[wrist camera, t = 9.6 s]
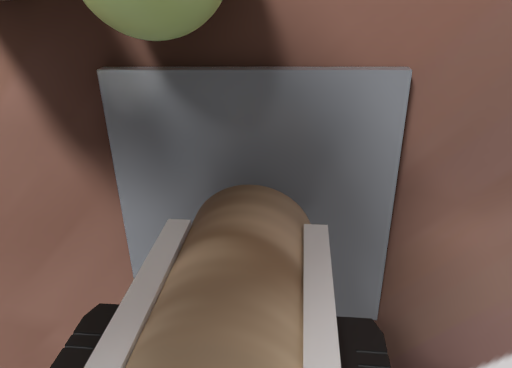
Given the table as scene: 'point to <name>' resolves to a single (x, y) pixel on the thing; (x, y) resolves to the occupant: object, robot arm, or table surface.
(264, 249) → the cork
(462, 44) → the table surface
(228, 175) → the coaster
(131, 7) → the lime
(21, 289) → the table surface
